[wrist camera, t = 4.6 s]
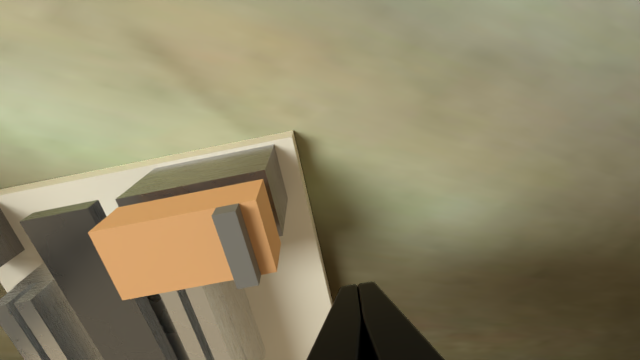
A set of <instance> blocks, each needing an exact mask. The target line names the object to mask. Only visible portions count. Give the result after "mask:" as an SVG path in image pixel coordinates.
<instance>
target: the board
mask: <svg viewBox="0 0 640 360" xmlns="http://www.w3.org/2000/svg"><path fill="white" fill-rule="evenodd" d="M273 144H274V146H275V150H276V154H277V158H278V162H279V166H280V170H281V174H282V177H283V181H284V185H285V189H286V193H287V197H288V202H287V209H286V217H285V224H284V231H283V236H279V238H280V242H281V247H280V254H279V261H278V268H277V272H274V273H269V274H263V275H261V278H260V283H259V285H258V286H253V287H247V288H244V289H245V292H246V295H247V298H248V301H249V304H250V307H251V310H252V312H253V315H254V318H255V321H256V324H257V327H258V330H259V333H260V336H261V339H262V342H263V345H264V348H265V358H264V360H306V359H307V357H308V355H309V353H310V351H311V349H312V347H313V345H314V343H315V340H316V338H317V336H318V334H319V332H320V330H321V328H322V326H323V324H324V321H325V319H326V317H327V315H328V313H329V311H330V309H331V307H332V305H333V302H332V298H331V293H330V289H329V284H328V280H327V276H326V271H325V267H324V263H323V258H322V254H321V250H320V245H319V241H318V237H317V232H316V228H315V223H314V219H313V215H312V210H311V206H310V202H309V197H308V193H307V189H306V184H305V180H304V175H303V171H302V167H301V162H300V158H299V154H298V149H297V145H296V141H295V136H294V132H293V130H292V131H287V132H282V133H277V134H272V135H267V136H262V137H257V138H252V139H247V140H242V141H237V142H232V143H228V144H223V145H218V146H213V147H208V148H203V149H198V150H193V151H188V152H183V153H178V154H173V155H168V156H163V157H158V158H153V159H148V160H143V161H138V162H133V163H128V164H123V165H118V166H113V167H108V168H103V169H99V170H94V171H89V172H84V173H79V174H74V175H69V176H64V177H59V178H54V179H49V180H44V181H39V182H34V183H29V184H24V185H19V186H14V187H9V188H4V189H0V209H1V210H2V212H3V214H4V215H5V217H6V219H7V220H8V222H9V224H10V225H11V227H12V229H13V230H14V232H15V234H16V235H17V237H18V239H19V240H20V242H21V244H22V246H23V247H24V249H25V250H24V251H22V252H21V253H20V254H18V255H17V256H15V257H14V258H13V259H11V260H10V261H8V262H7V263H6V264H4V265H3V266H1V267H0V282H1V284H2V285H3V287H4V289H5V290H6V292H7V293H8V292H9V291H11V290H12V289H13V287H14V286H15V285H17V284H18V283H19V282H20V281H21V280H23V279H24V278H25V277H26V276H28V275H29V274H30V273H31V272H33V271H34V270H35V269H36V268H37V267H39V266H40V265H41V264H42V263H44V261H43V260H42V258H41V256H40V255H39V253H38V252H37V250H36V248H35V247H34V245H33V243H32V242H31V240H30V239H29V237H28V235H27V234H26V232H25V231H24V229H23V227H22V226H21V224H20V222H19V221H21V220H22V219H24V218H26V217H27V216H29V215H30V214H32V213H34V212H39V211H44V210H49V209H54V208H59V207H64V206H69V205H74V204H79V203H84V202H90V201H95V200H99V202H100V204H101V206H102V208H103V210H104V212H105V214H106V216H108V215H109V214H110V213H112V212H113V211H114V210H115V209H116V208H118V204H117V202H116V200H115V199H116V198H117V197H119V196H120V195H121V194H123V193H124V192H125V191H126V190H128V189H129V188H130V187H131V186H133V185H134V184H135V183H136V182H138V181H139V180H140V179H142V178H143V177H144V176H145V175H147V174H148V173H149V172H150V171H152V170H153V169H154V168H158V167H163V166H168V165H173V164H178V163H183V162H188V161H193V160H198V159H203V158H208V157H213V156H218V155H223V154H228V153H233V152H238V151H243V150H248V149H253V148H258V147H263V146H268V145H273Z"/></svg>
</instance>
